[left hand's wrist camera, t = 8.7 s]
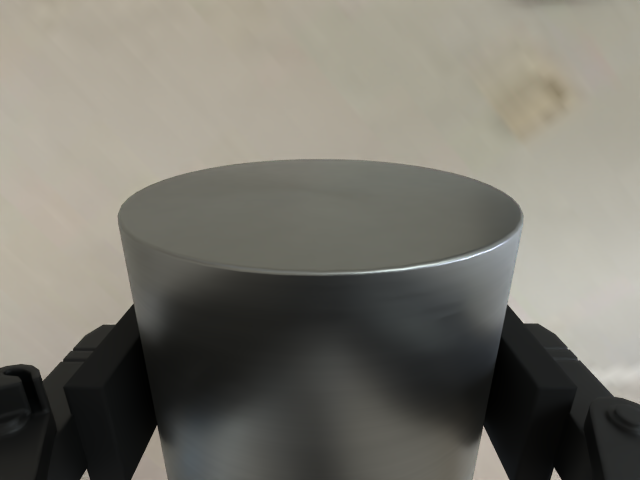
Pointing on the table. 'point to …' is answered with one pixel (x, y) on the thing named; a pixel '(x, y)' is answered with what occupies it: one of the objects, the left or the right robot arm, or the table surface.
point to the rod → (320, 317)
